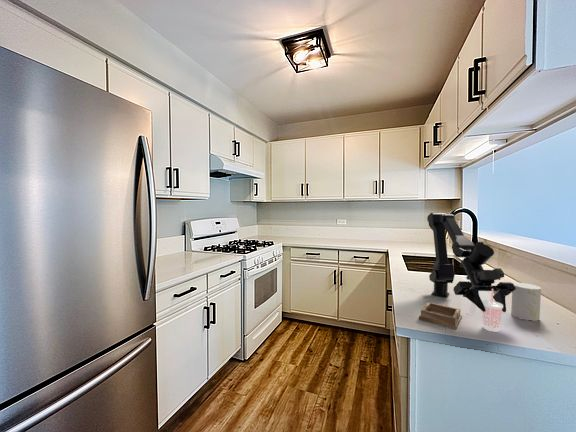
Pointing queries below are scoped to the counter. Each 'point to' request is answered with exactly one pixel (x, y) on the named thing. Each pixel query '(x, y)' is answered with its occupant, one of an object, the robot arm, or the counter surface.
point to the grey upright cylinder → (526, 301)
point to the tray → (441, 315)
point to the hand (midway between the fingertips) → (494, 311)
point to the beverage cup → (492, 314)
